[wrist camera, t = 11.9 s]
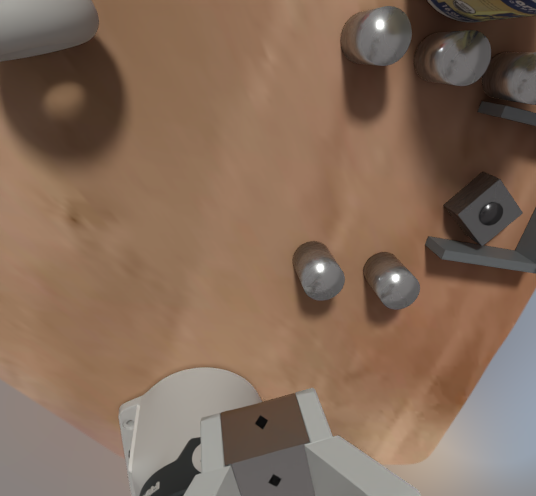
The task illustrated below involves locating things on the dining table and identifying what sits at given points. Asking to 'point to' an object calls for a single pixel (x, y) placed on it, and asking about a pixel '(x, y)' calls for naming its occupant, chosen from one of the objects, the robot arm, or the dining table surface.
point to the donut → (44, 26)
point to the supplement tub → (484, 9)
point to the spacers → (429, 69)
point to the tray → (522, 259)
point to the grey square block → (483, 208)
